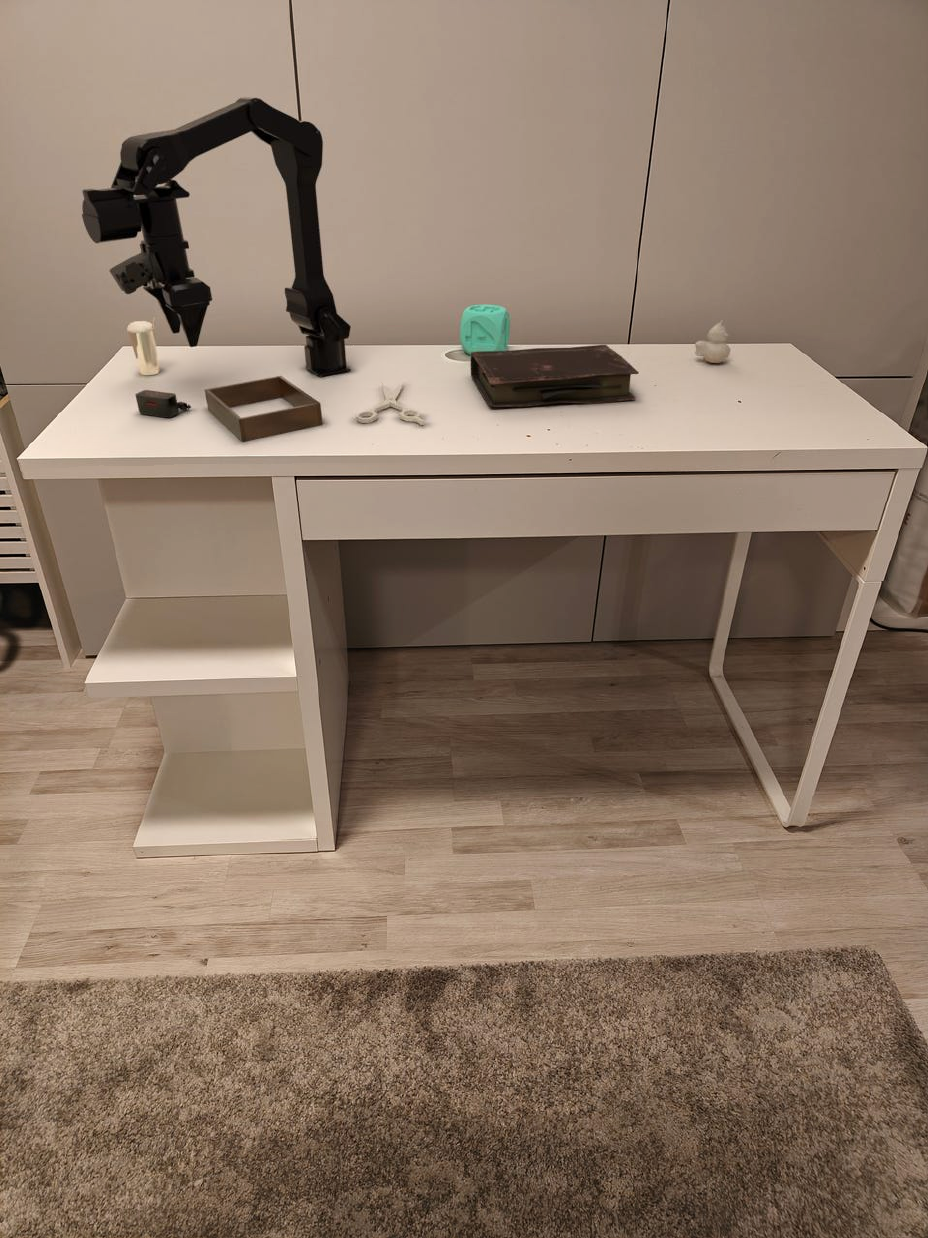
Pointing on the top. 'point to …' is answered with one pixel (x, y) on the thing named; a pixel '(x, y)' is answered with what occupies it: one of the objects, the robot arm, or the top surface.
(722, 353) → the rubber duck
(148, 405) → the black dial case
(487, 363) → the diary
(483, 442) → the top surface
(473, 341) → the decorative dice
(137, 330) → the milkshake
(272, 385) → the desk tray
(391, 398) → the scissors
